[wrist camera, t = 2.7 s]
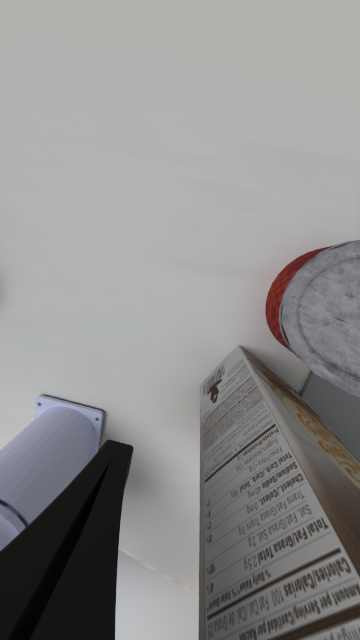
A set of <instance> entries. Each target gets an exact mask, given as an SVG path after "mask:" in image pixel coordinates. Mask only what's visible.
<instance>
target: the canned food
mask: <svg viewBox="0 0 360 640" xmlns="http://www.w3.org/2000/svg"><path fill="white" fill-rule="evenodd" d="M266 319H267V324H268V326H269V328H270V331H271V332H272V334H273V335H274V337H275V338H276V339H277V340H278V341H279V342H280V343H281V344H282V345H283V346H285V347H286V348H287V349H289V350H290V351H291V352H293V353H294V354H295V355H297V356H298V357H299V358H300V359H302V361H303V362H304V363H305V364H306V365H307V366H308V367H309V368H310V369H311V370H312V372H313V373H314V374H316V375H318V376H320V377H321V378H323V379H325V380H327V381H328V382H330V383H332V384H333V385H335V386H337V387H339V388H340V389H342V390H344V391H345V392H347V393H349V394H350V395H353V396H357V397H360V240H358V241H348V242H345V243H342V244H338V245H334V246H330V247H326V248H321V249H318V250H314V251H311V252H308V253H306V254H304V255H302V256H300V257H298V258H296V259H295V260H294V261H292V262H291V263H289V264H288V265H287V266H286V267H285V268H284V269H283V270H282V271H281V272H280V273H279V275H278V276H277V277H276V279H275V280H274V282H273V283H272V286H271V288H270V290H269V292H268V296H267V300H266Z"/></svg>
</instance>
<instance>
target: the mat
mask: <svg viewBox="0 0 360 640" xmlns="http://www.w3.org/2000/svg"><path fill="white" fill-rule="evenodd" d="M300 397H301V398H303V399H304V400H305V401H306V402H307V403H308V404H309V406H310V407H311V408H312V409H313V410H314V411H315V412H316V413H317V414H318V415H319V417H320V418H321V419H322V420H323V421H324V422H325V424H326V425H327V426H328V427H329V428H330V429H331V430H332V432H333V433H334V434H335V435H336V436H337V437H338V438H339V440H340V441H341V442H342V443H343V444H344V445H345V446H346V448H347V449H348V450H349V451H350V452H351V453H352V454H353V456H354V457H355V458H356V459H357V460H358V461H359V462H360V397H357V396H353V395H350V394H349V393H347V392H345V391H344V390H342V389H340V388H339V387H337V386H335V385H333V384H332V383H330V382H328V381H327V380H325V379H323V378H321V377H320V376H318V375H316V374H314V373H313V372H312V370H311V372H310V375H309V377H308V379H307V381H306V383H305V385H304V387H303V390H302V392H301V394H300Z"/></svg>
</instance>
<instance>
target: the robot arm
mask: <svg viewBox="0 0 360 640" xmlns="http://www.w3.org/2000/svg"><path fill="white" fill-rule="evenodd" d="M102 421H103V412H102V411H101V410H97V409H94V408H90V407H86V406H82V405H78V404H74V403H71V402H67V401H63V400H59V399H55V398H51V397H48V396H44V395H39V396H38V397H37V398H36V415H35V420H34V421H33V422H32V423H31V424H30V425H29V426H27V427H26V428H25V429H24V430H23V431H22V432H21V433H20V434H18V435H17V436H16V437H15V438H14V439H13V440H12V441H10V442H9V443H8V444H7V445H6V446H5V447H4V448H3V449H1V450H0V640H115V605H116V579H117V560H118V544H119V531H120V519H121V510H122V501H123V493H124V488H125V484H126V481H127V477H128V474H129V469H130V464H131V458H132V453H133V447H132V445H128V444H124V443H120V442H116V441H112V440H107V441H106V442H105V443H104V444H103V446H102V447H101V448H100V450H99V451H98V449H99V442H100V435H101V428H102Z"/></svg>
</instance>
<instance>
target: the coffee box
mask: <svg viewBox="0 0 360 640" xmlns="http://www.w3.org/2000/svg"><path fill="white" fill-rule="evenodd" d="M199 640H360V462H359V461H358V460H357V459H356V458H355V457H354V456H353V454H352V453H351V452H350V451H349V450H348V449H347V448H346V446H345V445H344V444H343V443H342V442H341V441H340V440H339V438H338V437H337V436H336V435H335V434H334V433H333V432H332V430H331V429H330V428H329V427H328V426H327V425H326V424H325V422H324V421H323V420H322V419H321V418H320V417H319V415H318V414H317V413H316V412H315V411H314V410H313V409H312V408H311V407H310V406H309V404H308V403H307V402H306V401H305V400H304V399H303V398H301V397H300V396H299V395H298V394H297V393H296V392H294V391H293V390H292V389H291V388H290V387H288V386H287V385H286V384H285V383H284V382H282V381H281V380H280V379H279V378H278V377H276V376H275V375H274V374H273V373H272V372H270V371H269V370H268V369H267V368H266V367H265V366H263V365H262V364H261V363H260V362H259V361H257V360H256V359H255V358H254V357H253V356H252V355H250V354H249V353H248V352H247V351H246V350H244V349H243V348H242V347H241V346H238V347H237V348H236V349H235V350H234V351H233V352H232V353H231V354H230V355H229V356H228V357H227V358H226V359H225V360H224V361H223V362H222V363H221V365H220V366H219V367H218V368H217V369H216V370H215V371H214V372H213V373H212V374H211V375H210V376H209V377H208V378H207V379H206V380H205V381H204V382H203V383H202V384H201V409H200V552H199Z"/></svg>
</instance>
